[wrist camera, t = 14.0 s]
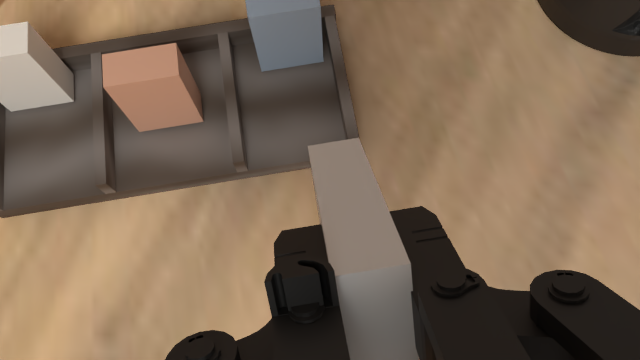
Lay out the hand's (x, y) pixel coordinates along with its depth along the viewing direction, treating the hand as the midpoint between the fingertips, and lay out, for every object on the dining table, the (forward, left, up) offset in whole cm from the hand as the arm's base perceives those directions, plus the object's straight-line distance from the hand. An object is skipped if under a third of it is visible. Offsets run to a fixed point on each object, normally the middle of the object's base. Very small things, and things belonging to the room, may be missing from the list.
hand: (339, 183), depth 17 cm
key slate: (-9, -17, -24) cm, 31 cm away
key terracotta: (+1, -19, -24) cm, 31 cm away
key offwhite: (+8, -27, -24) cm, 37 cm away
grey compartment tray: (+1, -20, -26) cm, 33 cm away
